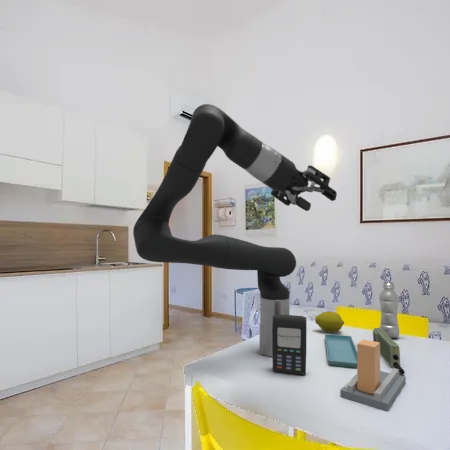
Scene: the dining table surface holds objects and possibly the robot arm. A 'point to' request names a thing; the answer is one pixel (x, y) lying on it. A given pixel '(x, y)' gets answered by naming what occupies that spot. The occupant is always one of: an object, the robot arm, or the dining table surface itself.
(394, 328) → the plastic bottle
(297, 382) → the dining table surface
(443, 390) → the dining table surface
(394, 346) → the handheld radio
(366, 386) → the switch tab
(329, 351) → the rectangular tray
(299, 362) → the card reader
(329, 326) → the lemon
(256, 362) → the dining table surface
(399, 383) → the grey slotted base
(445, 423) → the dining table surface
